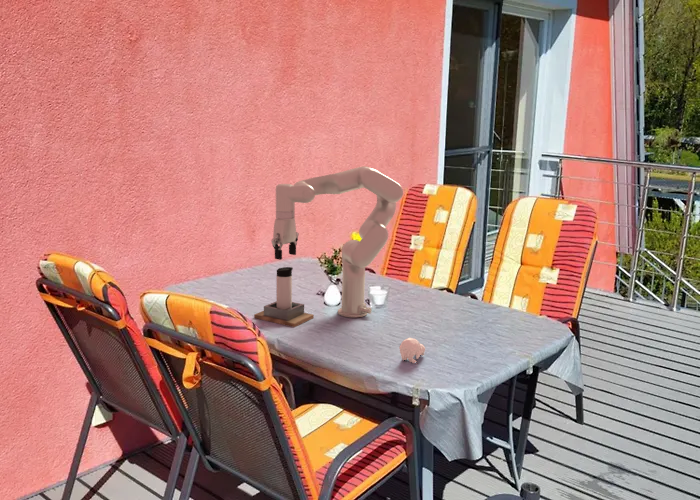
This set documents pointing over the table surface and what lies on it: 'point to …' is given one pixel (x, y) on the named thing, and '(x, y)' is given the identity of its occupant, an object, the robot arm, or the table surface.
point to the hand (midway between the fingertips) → (285, 256)
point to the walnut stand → (292, 322)
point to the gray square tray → (283, 311)
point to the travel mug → (284, 288)
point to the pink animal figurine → (411, 349)
